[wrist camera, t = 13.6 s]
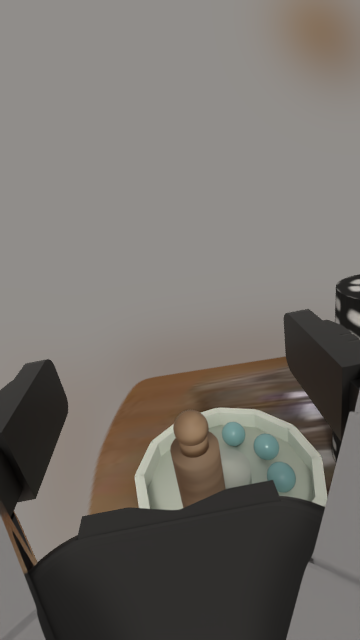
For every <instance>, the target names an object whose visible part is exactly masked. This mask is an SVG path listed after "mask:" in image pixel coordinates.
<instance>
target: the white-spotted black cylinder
mask: <svg viewBox="0 0 360 640" xmlns="http://www.w3.org/2000/svg"><path fill="white" fill-rule="evenodd" d="M335 323H338V324H341V325H342V326H344V327H345V328H346V329H348V330H349V331H350V332H352V334H354V335H356V336H357V337H358V338H359V339H360V275H355V276H351V277H348V278H345V279H343V280H341V281H339V282H338V283H337V285H336V308H335ZM341 443H342V441H340V439H339V438H338V437H337V435H336V434H335V432H334V431H333V440H332V453H333V458H334V460H335V462H336V463H337V459H338V455H339V451H340V447H341Z"/></svg>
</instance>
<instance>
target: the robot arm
mask: <svg viewBox="0 0 360 640" xmlns="http://www.w3.org/2000/svg"><path fill="white" fill-rule="evenodd" d="M284 331H285V332H284V333H285V349H286V359H287V363H288V366H289V369H290V371H291V372H292V374H293V375H294V377H295V378H296V379H297V381H298V382H299V384H300V385H301V386H302V388H303V389H304V391H305V392H306V393H307V395H308V396H309V398H310V399H311V400H312V402H313V403H314V404H315V406H316V407H317V409H318V410H319V411H320V413H321V414H322V416H323V417H324V418H325V420H326V421H327V423H328V424H329V425H330V427H331V428H332V430H333V431H334V432H335V434H336V435H337V437H338V438H339V439H340V441H342V443H341V447H340V451H339V455H338V459H337V463H336V467H335V471H334V475H333V479H332V482H331V486H330V490H329V494H328V498H327V502H326V506H325V507H324V506H321V505H319V504H316V503H314V502H311V501H307V500H304V499H300V498H294V497H288V496H279V494H278V491H277V489H276V486H275V484H274V481H273V480H269V481H264V482H259V483H254V484H249V485H243V486H238V487H233V488H228V489H224V490H222V491H220V492H218V493H216V494H213V495H211V496H209V497H207V498H205V499H202V500H200V501H198V502H196V503H194V504H191V505H189V506H187V507H185V508H182V509H179V510H163V509H146V508H124V509H118V510H113V511H108V512H103V513H98V514H92V515H87V516H83V517H82V519H81V524H80V528H79V533H78V535H77V536H75V537H73V538H71V539H69V540H68V541H66V542H64V543H62V544H61V545H59V546H58V547H57V548H55V549H54V550H52V551H51V552H49V553H48V554H47V555H46V556H45V557H43V558H42V559H41V560H40V561H39V562H37V560H36V558H35V555H34V553H33V551H32V549H31V546H30V544H29V542H28V540H27V537H26V535H25V533H24V531H23V528H22V526H21V524H20V522H19V520H18V517H17V516H16V514H15V512H14V509H15V506H16V504H17V502H22V501H26V500H32V499H36V496H37V494H38V491H39V488H40V486H41V483H42V480H43V478H44V475H45V473H46V470H47V467H48V465H49V462H50V459H51V456H52V454H53V451H54V448H55V446H56V443H57V441H58V438H59V435H60V433H61V430H62V427H63V425H64V422H65V419H66V417H67V414H68V402H67V397H66V394H65V392H64V389H63V387H62V384H61V382H60V379H59V376H58V374H57V372H56V369H55V366H54V364H53V363H52V361H51V360H48V359H47V360H42V361H37V362H32V363H27V364H25V365H24V366H23V368H22V369H21V370H20V372H19V373H18V375H17V376H16V377H15V379H14V380H13V381H11V382H10V383H9V384H7V385H6V386H5V387H4V388H2V389H1V390H0V640H360V339H359V338H358V337H357V336H356V335H354V334H352V332H350V331H349V330H348V329H346V328H345V327H344V326H342V325H341V324H338V323H335V322H332V321H329V320H324V321H323V320H321V319H320V318H319V317H318V316H316V315H315V314H314V313H313V312H312V311H310V310H309V309H305V310H300V311H296V312H291V313H286V314H285V315H284Z"/></svg>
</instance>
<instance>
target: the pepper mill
mask: <svg viewBox="0 0 360 640" xmlns="http://www.w3.org/2000/svg"><path fill="white" fill-rule="evenodd" d="M173 430H174V434H175V437H176V438H175V439H174V441H173V442H172V444H171V448H170V452H171V456H172V461H173V465H174V470H175V474H176V478H177V483H178V487H179V492H180V496H181V501H182V505H183V508H185V507H187V506H189V505H191V504H194V503H196V502H198V501H200V500H202V499H205V498H207V497H209V496H211V495H213V494H216V493H218V492H220V491H222V490H224V489H226V488H225V481H224V475H223V468H222V462H221V455H220V448H219V442H218V439H217V438H216V436H215V435H214V434H212V433H211V432H209V431H208V430H209V427H208V422H207V420H206V418H205V417H204V415H203V414H201V413H200V412H198V411H196V410H186V411H183V412H182V413H180V414H179V415H178V416H177V418H176V419H175V422H174V426H173Z"/></svg>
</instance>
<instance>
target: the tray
mask: <svg viewBox="0 0 360 640" xmlns="http://www.w3.org/2000/svg"><path fill="white" fill-rule="evenodd" d="M201 414H203V415H204V417H205V418H206V420H207V422H208V427H209V430H208V431H209V432H211V433H212V434H214V435H215V436H216V438H217V439H218V442H219V448H220V455H221V462H222V468H223V475H224V481H225V488H226V489H228V488H233V487H238V486H243V485H249V484H254V483H259V482H264V481H269V480H273V481H274V484H275V486H276V489H277V491H278V494H279V496H288V497H294V498H300V499H304V500H307V501H311V502H314V503H316V504H319V505H321V506H324V507H325V506H326V502H327V491H326V484H325V476H324V469H323V462H322V457H321V455H320V454H319V453H318V452H317V451H316V449H315V448H314V447H313V446H312V445H311V444H310V443H309V442H308V440H307V439H306V438H305V437H304V436H303V435H302V434H301V433H300V431H299V430H298V429H297V428H296V427H295V426H293V425H292V424H290V423H287V422H285V421H283V420H280V419H278V418H276V417H273V416H271V415H269V414H266V413H264V412H262V411H259V410H257V411H256V409H238V408H214V409H211V410H208V411H204V412H201ZM173 426H174V424H173V425H172V426H171V427H169V428H168V429H167V430H165V431H164V432H163V433H161V434H160V435H159V436H158V437H156V438H155V439H154V440H152V442H151V443H150V445H149V447H148V449H147V451H146V453H145V455H144V457H143V460H142V462H141V464H140V466H139V468H138V470H137V472H136V474H135V483H136V490H137V497H138V504H139V508H146V509H163V510H179V509H182V508H183V505H182V501H181V496H180V492H179V487H178V483H177V478H176V474H175V470H174V465H173V461H172V456H171V452H170V448H171V444H172V442H173V441H174V439H175V438H176V437H175V434H174V430H173Z"/></svg>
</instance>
